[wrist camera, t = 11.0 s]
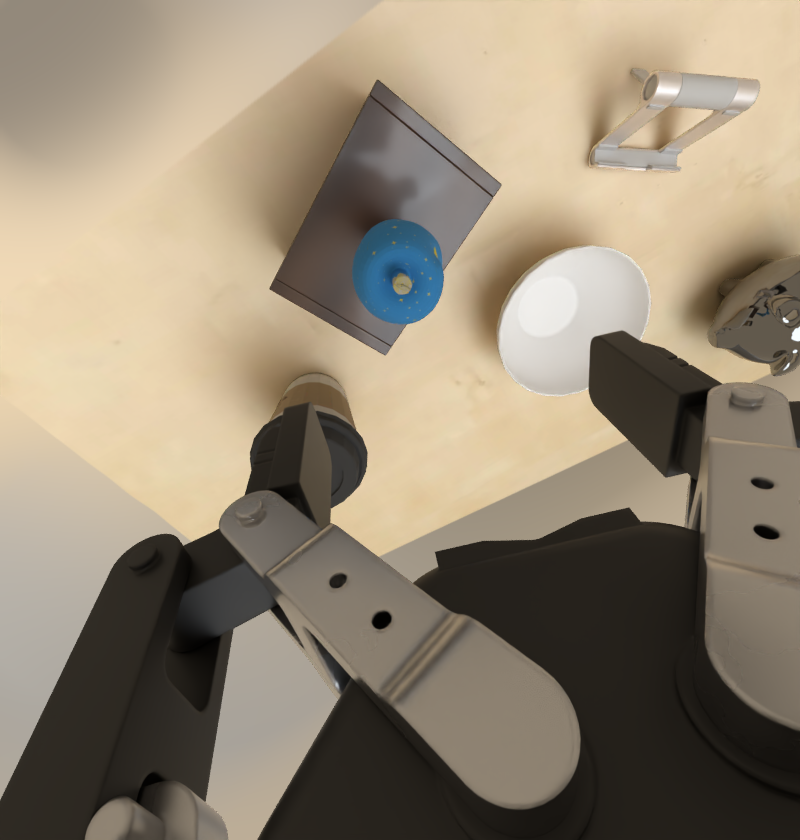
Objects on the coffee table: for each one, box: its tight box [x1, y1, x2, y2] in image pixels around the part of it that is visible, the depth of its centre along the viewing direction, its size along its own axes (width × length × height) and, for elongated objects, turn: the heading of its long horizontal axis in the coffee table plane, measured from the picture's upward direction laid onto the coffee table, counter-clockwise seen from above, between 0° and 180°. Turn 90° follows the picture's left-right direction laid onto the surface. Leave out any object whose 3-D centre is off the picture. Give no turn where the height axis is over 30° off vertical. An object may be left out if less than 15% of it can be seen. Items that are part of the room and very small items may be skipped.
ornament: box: [352, 219, 444, 324], centre depth 27 cm, size 5×5×15 cm
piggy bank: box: [708, 255, 800, 376], centre depth 48 cm, size 11×15×12 cm
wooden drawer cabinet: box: [269, 80, 501, 355], centre depth 39 cm, size 11×16×12 cm
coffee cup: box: [250, 373, 367, 508], centre depth 47 cm, size 11×11×15 cm
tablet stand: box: [588, 69, 760, 173], centre depth 38 cm, size 9×8×8 cm
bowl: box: [497, 245, 651, 396], centre depth 48 cm, size 16×16×7 cm
